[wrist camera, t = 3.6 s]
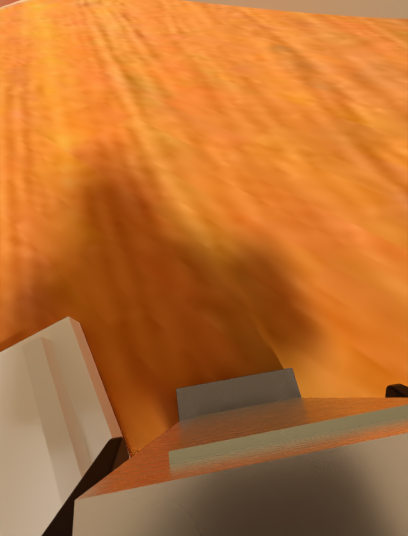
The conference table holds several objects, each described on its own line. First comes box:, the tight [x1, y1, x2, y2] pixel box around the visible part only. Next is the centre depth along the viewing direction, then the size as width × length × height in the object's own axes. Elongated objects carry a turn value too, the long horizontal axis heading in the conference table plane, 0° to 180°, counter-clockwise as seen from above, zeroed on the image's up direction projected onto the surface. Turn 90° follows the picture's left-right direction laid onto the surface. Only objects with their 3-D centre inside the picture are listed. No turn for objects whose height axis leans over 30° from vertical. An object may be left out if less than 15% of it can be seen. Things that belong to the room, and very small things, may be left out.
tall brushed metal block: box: [72, 368, 408, 536], centre depth 8 cm, size 6×6×12 cm
